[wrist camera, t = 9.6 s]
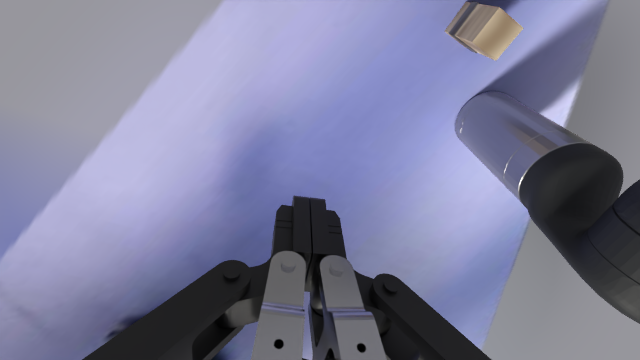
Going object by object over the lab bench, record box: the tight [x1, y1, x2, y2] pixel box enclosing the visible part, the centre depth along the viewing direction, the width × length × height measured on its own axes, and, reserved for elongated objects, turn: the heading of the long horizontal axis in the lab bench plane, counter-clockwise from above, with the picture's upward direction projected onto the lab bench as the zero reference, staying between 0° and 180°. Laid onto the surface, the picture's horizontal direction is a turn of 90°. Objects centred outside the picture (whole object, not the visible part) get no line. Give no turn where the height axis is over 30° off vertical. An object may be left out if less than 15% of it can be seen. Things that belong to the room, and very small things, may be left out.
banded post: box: [445, 2, 523, 61], centre depth 38 cm, size 4×4×8 cm
